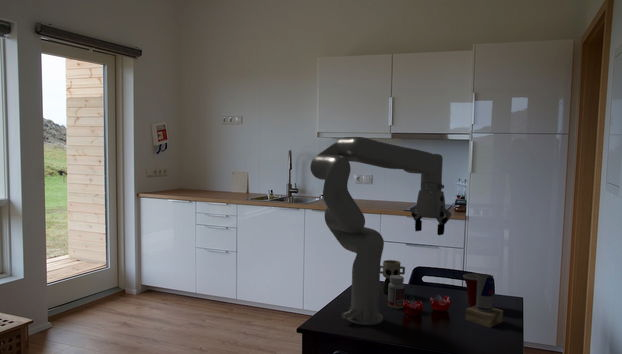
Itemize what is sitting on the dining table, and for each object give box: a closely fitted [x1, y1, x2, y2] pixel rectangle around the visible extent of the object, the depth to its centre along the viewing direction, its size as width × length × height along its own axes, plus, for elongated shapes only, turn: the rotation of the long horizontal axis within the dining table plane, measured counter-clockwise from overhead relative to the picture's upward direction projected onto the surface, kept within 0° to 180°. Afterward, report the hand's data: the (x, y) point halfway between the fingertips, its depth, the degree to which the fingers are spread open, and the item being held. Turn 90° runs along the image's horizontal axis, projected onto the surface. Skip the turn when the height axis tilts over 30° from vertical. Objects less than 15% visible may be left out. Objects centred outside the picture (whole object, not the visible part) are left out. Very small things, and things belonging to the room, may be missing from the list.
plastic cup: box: [462, 273, 479, 308], centre depth 182 cm, size 11×11×12 cm
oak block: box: [465, 305, 504, 328], centre depth 166 cm, size 9×9×4 cm
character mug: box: [380, 259, 406, 294], centre depth 196 cm, size 11×7×13 cm, turn 86°
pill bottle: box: [387, 274, 406, 310], centre depth 179 cm, size 6×6×11 cm
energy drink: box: [476, 273, 495, 312], centre depth 165 cm, size 5×5×12 cm
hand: (429, 232), depth 177 cm, fingers open, 9 cm apart
